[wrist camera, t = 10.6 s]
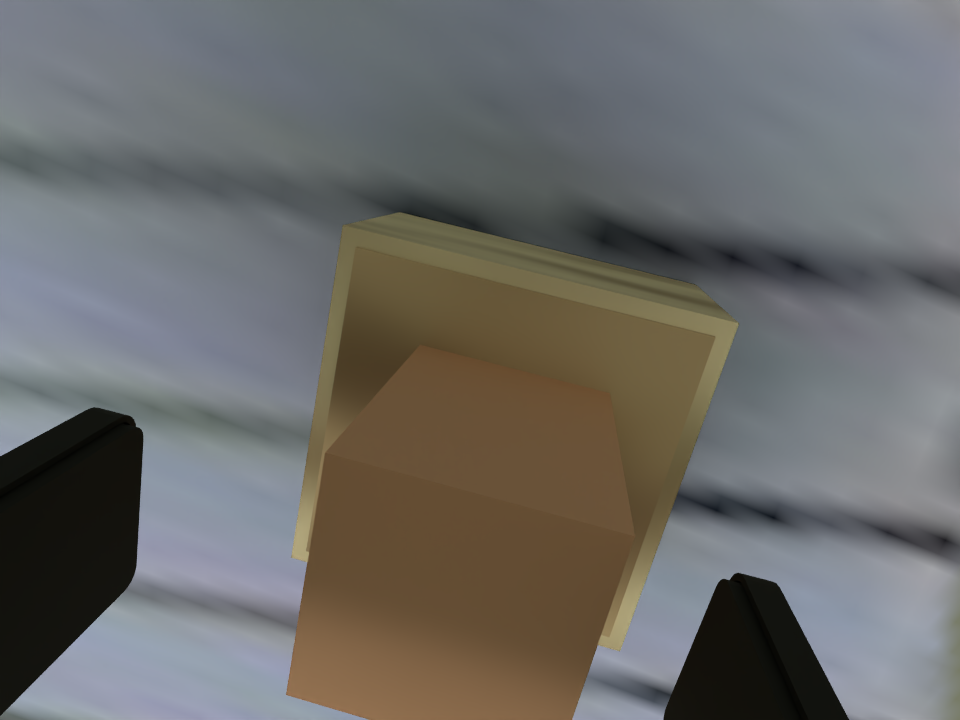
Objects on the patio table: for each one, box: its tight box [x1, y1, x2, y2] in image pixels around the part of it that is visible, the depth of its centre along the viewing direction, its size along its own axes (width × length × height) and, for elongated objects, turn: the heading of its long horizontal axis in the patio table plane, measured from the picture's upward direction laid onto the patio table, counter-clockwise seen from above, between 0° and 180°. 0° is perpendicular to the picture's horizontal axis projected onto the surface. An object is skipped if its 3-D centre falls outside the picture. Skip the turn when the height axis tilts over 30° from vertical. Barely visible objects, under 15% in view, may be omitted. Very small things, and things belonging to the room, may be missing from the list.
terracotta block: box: [286, 345, 635, 720], centre depth 12 cm, size 4×4×6 cm
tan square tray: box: [291, 212, 739, 651], centre depth 18 cm, size 9×9×5 cm
